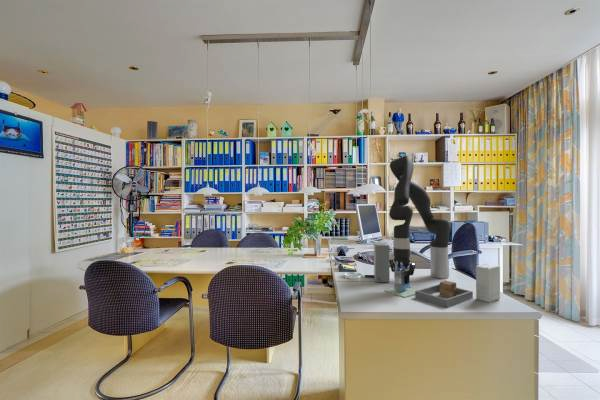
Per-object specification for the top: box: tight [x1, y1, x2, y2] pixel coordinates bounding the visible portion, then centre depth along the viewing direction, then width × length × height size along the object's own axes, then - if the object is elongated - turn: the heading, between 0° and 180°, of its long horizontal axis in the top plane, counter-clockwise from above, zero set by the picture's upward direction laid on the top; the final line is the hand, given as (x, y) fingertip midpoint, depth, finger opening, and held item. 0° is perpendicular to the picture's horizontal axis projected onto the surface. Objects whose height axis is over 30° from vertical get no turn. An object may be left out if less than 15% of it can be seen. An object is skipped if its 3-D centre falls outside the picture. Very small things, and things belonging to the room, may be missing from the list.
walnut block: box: [439, 280, 457, 298], centre depth 135 cm, size 5×5×6 cm
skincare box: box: [475, 263, 501, 303], centre depth 129 cm, size 8×6×15 cm
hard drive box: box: [373, 241, 391, 283], centre depth 164 cm, size 16×8×20 cm, turn 168°
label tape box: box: [393, 264, 411, 291], centre depth 141 cm, size 9×4×12 cm, turn 136°
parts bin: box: [414, 283, 474, 308], centre depth 131 cm, size 20×15×3 cm
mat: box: [383, 287, 417, 298], centre depth 140 cm, size 12×12×1 cm
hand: (402, 282), depth 141 cm, fingers closed on label tape box, 4 cm apart
